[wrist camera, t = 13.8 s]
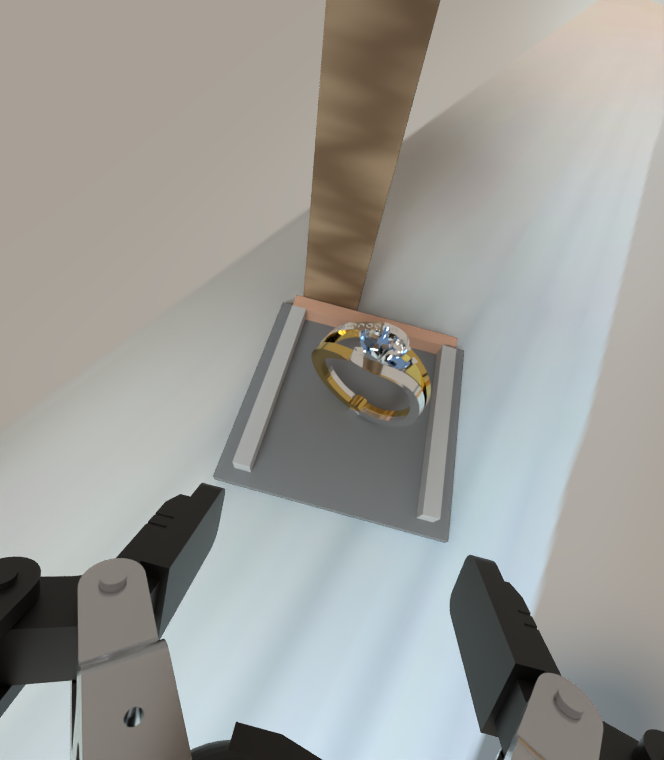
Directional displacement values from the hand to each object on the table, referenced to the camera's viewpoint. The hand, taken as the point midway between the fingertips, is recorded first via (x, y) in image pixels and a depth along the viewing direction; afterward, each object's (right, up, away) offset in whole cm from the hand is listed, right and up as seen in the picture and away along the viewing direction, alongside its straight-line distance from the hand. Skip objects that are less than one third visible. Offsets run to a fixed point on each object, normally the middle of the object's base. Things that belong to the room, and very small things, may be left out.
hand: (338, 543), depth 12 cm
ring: (+1, +3, +13) cm, 14 cm away
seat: (+1, +3, +14) cm, 14 cm away
